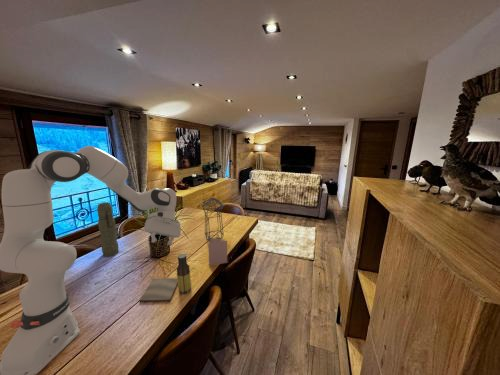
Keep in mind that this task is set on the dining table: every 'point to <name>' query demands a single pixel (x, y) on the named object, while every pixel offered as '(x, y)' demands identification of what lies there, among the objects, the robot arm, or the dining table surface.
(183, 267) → the sauce bottle
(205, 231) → the geometric lantern
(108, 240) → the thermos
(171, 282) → the walnut board
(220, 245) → the greeting card
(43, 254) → the robot arm
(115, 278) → the dining table surface
